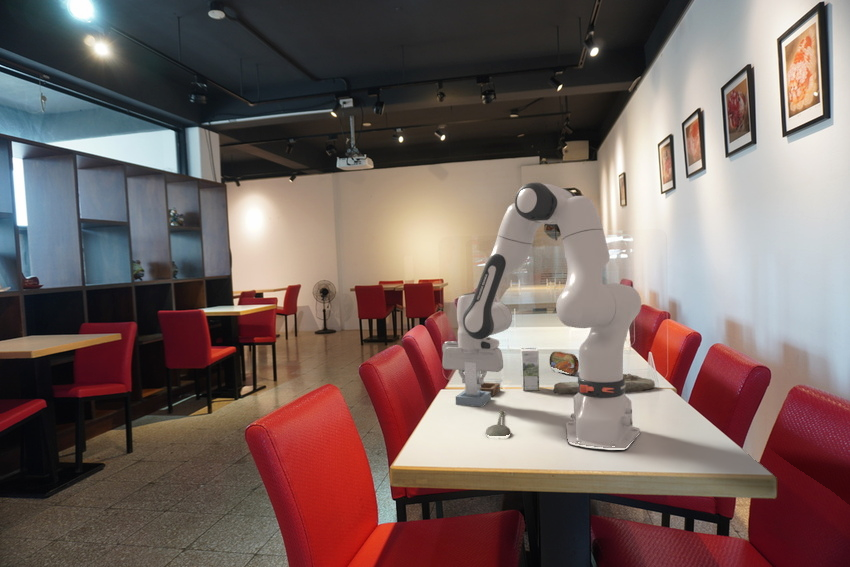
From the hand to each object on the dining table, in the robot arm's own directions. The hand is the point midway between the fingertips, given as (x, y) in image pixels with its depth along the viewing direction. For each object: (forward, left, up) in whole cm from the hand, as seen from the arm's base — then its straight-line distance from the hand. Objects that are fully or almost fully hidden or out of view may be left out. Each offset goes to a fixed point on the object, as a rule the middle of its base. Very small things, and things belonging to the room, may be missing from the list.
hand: (473, 383), depth 171 cm
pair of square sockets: (+6, 0, -6) cm, 9 cm away
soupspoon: (-21, -15, -7) cm, 27 cm away
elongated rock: (+27, -38, -7) cm, 47 cm away
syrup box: (+21, -14, -6) cm, 26 cm away
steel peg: (0, 0, -5) cm, 5 cm away
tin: (+49, -21, -6) cm, 54 cm away
